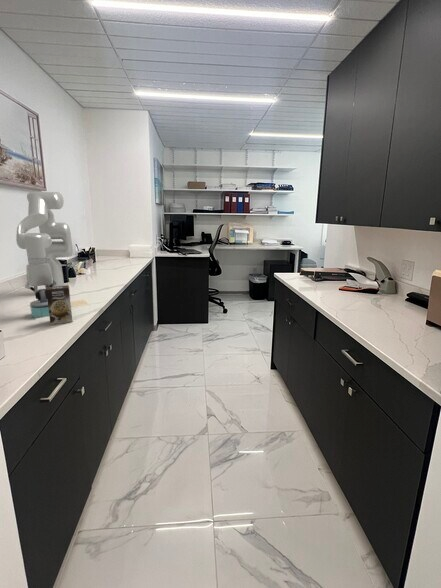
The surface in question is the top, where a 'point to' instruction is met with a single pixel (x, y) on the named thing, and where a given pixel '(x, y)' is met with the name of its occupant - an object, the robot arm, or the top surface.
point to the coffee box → (59, 304)
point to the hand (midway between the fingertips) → (43, 299)
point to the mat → (78, 303)
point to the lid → (42, 301)
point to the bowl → (39, 311)
